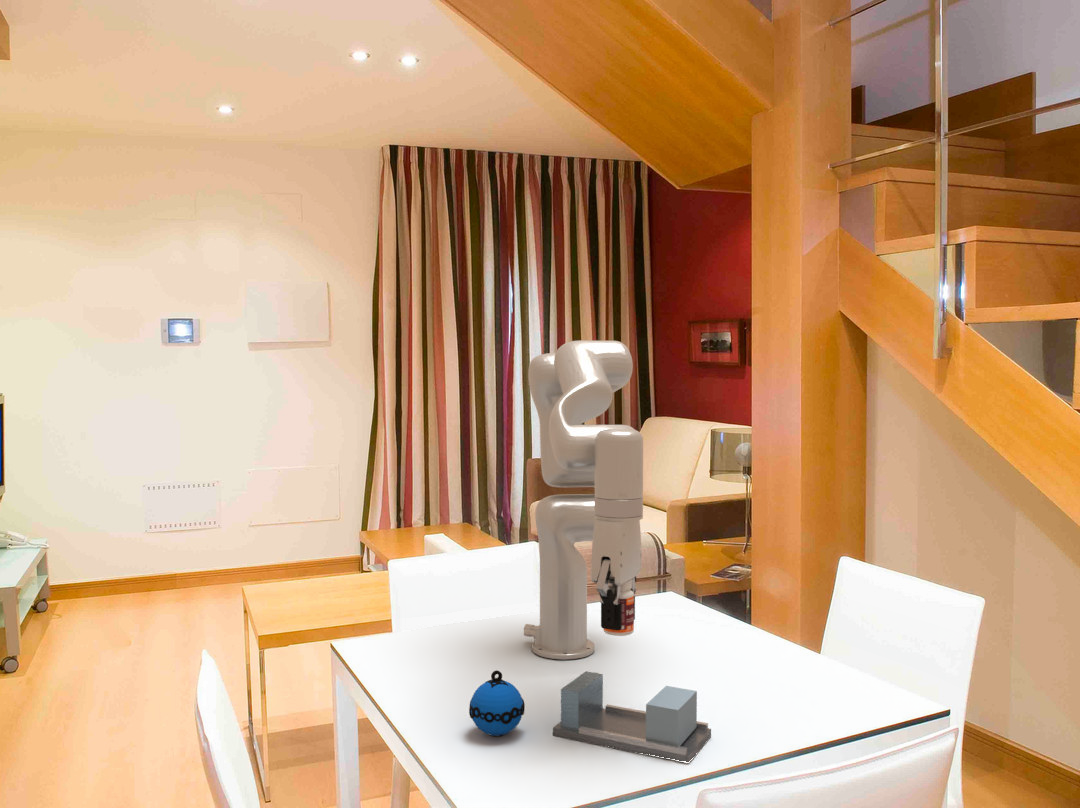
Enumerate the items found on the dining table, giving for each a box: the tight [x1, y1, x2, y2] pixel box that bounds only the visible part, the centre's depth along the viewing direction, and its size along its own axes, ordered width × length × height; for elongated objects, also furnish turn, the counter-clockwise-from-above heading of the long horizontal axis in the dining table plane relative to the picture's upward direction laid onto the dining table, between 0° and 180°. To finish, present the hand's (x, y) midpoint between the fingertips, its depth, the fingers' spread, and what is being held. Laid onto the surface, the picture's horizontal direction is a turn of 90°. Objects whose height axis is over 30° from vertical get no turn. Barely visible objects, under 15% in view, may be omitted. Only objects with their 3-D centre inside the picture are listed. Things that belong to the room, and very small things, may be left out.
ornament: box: [468, 670, 526, 737], centre depth 142 cm, size 9×9×10 cm
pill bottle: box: [602, 579, 635, 637], centre depth 142 cm, size 5×5×8 cm
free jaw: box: [645, 685, 698, 746], centre depth 138 cm, size 5×9×6 cm, turn 152°
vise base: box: [552, 670, 712, 762], centre depth 141 cm, size 22×11×7 cm, turn 62°
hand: (618, 623), depth 142 cm, fingers closed on pill bottle, 4 cm apart
